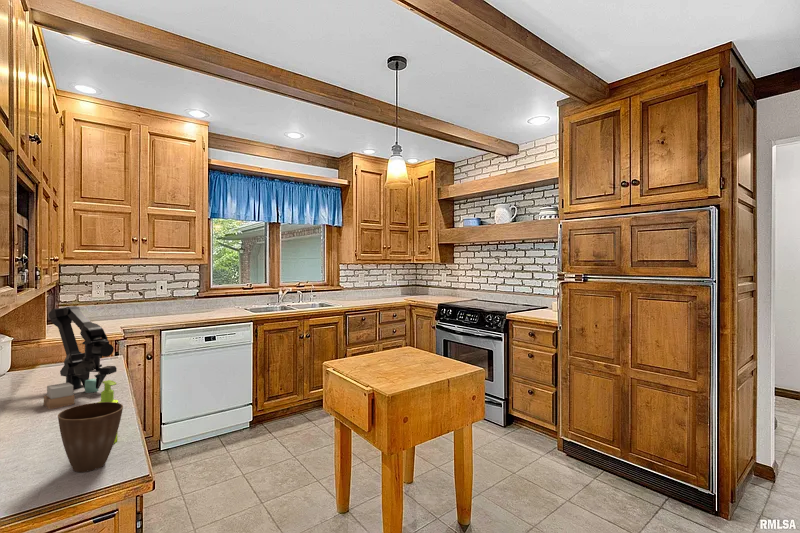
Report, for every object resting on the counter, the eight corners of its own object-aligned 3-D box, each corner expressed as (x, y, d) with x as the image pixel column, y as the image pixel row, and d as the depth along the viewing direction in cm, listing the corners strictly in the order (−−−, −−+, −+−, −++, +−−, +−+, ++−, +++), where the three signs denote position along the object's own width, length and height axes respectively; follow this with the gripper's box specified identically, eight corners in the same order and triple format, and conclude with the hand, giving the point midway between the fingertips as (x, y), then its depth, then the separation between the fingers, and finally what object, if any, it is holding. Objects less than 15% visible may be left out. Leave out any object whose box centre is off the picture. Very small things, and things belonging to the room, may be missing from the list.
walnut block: (43, 405, 169) (43, 396, 169) (67, 401, 176) (68, 391, 176) (49, 410, 164) (49, 399, 164) (74, 404, 171) (74, 395, 171)
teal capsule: (83, 391, 188) (83, 380, 188) (95, 389, 192) (96, 378, 192) (87, 393, 185) (87, 382, 185) (100, 390, 189) (100, 379, 189)
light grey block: (46, 395, 170) (47, 385, 170) (68, 391, 175) (68, 382, 175) (51, 399, 165) (51, 389, 165) (73, 395, 171) (73, 385, 171)
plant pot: (124, 450, 129) (125, 399, 129) (118, 471, 115) (119, 414, 116) (63, 460, 121) (64, 406, 122) (49, 484, 108) (51, 422, 108)
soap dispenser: (101, 449, 130) (103, 384, 130) (91, 443, 133) (93, 381, 133) (122, 442, 135) (123, 380, 135) (112, 437, 138) (113, 377, 138)
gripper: (57, 358, 181) (56, 393, 180) (100, 358, 181) (99, 394, 181) (77, 352, 192) (76, 386, 192) (117, 353, 192) (116, 387, 192)
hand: (91, 388), depth 189 cm, fingers closed on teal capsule, 5 cm apart
